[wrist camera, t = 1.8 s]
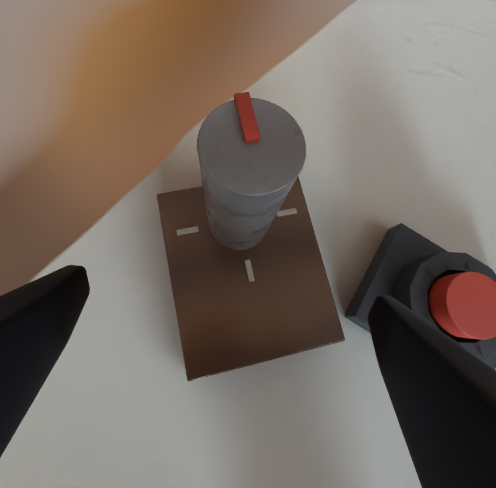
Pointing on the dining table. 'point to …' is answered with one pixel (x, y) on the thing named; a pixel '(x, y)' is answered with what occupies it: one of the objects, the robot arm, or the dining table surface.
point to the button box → (416, 281)
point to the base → (246, 287)
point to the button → (464, 305)
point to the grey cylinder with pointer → (247, 167)
